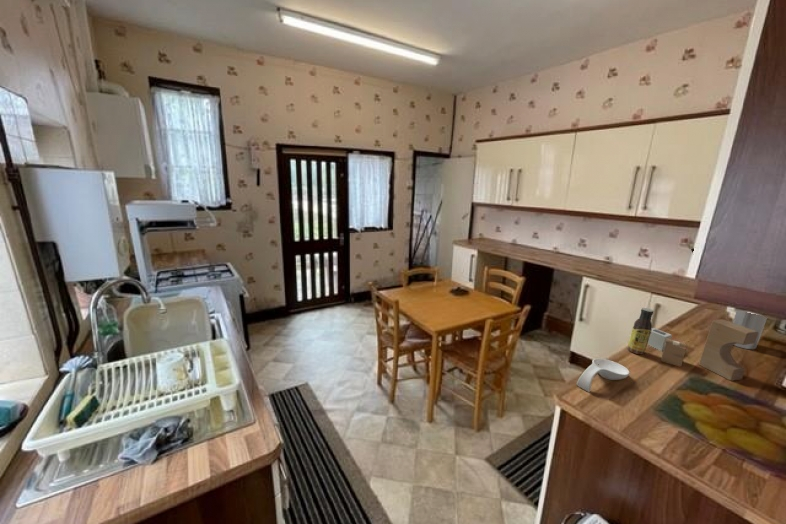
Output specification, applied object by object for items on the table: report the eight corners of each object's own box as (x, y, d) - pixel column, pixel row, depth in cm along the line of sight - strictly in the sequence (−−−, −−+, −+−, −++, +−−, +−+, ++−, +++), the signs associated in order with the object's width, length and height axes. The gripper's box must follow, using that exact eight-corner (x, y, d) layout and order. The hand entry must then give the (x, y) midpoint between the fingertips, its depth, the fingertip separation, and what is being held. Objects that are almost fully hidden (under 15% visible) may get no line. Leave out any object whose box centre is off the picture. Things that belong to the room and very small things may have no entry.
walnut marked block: (661, 355, 134) (666, 337, 131) (680, 360, 130) (685, 342, 128) (661, 361, 129) (666, 343, 127) (680, 366, 125) (686, 348, 123)
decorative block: (742, 379, 118) (759, 332, 112) (730, 381, 117) (747, 333, 111) (708, 363, 128) (723, 318, 123) (697, 364, 127) (711, 319, 122)
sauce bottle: (631, 354, 134) (642, 311, 128) (623, 346, 140) (633, 305, 134) (648, 356, 133) (660, 313, 127) (640, 348, 139) (650, 307, 133)
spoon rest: (600, 363, 128) (603, 347, 126) (633, 378, 118) (637, 362, 116) (567, 381, 116) (570, 364, 114) (600, 400, 106) (604, 382, 104)
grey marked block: (649, 341, 145) (653, 327, 143) (667, 348, 139) (671, 334, 137) (643, 343, 143) (647, 329, 141) (661, 351, 137) (665, 336, 135)
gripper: (743, 233, 124) (729, 275, 129) (698, 228, 135) (687, 267, 139) (738, 235, 120) (725, 278, 124) (693, 230, 130) (682, 269, 135)
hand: (705, 272), depth 132 cm, fingers closed
